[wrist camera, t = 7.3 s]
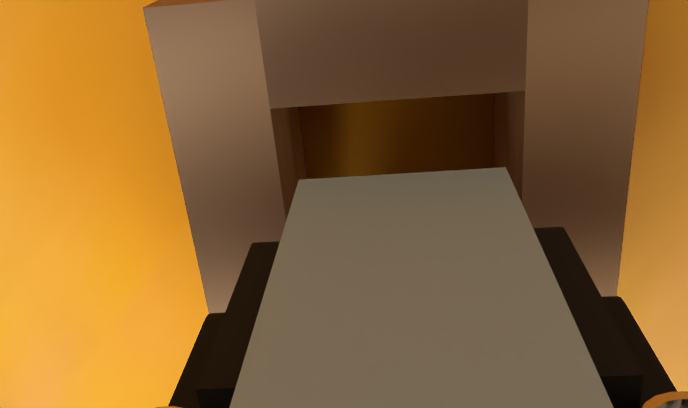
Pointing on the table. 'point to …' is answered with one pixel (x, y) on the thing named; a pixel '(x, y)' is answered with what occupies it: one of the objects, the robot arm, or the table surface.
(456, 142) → the table surface
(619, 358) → the robot arm
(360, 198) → the peg
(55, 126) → the table surface
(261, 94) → the socket block
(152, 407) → the table surface
